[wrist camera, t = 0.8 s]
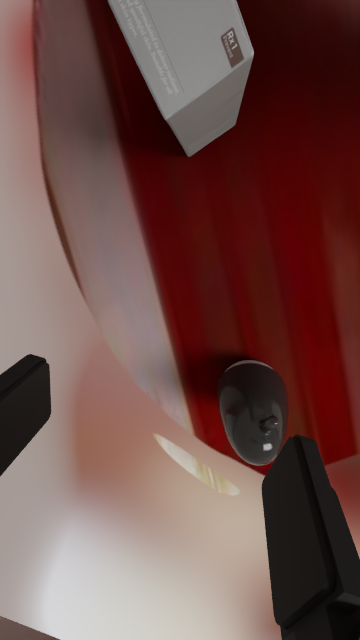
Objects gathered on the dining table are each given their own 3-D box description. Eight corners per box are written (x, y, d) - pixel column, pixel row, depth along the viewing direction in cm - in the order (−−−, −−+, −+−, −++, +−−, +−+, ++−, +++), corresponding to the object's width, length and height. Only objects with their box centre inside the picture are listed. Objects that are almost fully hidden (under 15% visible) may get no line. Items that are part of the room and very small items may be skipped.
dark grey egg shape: (293, 360, 39) (326, 443, 25) (267, 407, 44) (283, 499, 30) (229, 340, 40) (229, 412, 26) (210, 389, 44) (201, 471, 31)
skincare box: (153, 87, 28) (76, -30, 14) (211, 38, 26) (187, -164, 12) (189, 163, 31) (154, 128, 17) (244, 124, 28) (259, 45, 14)
